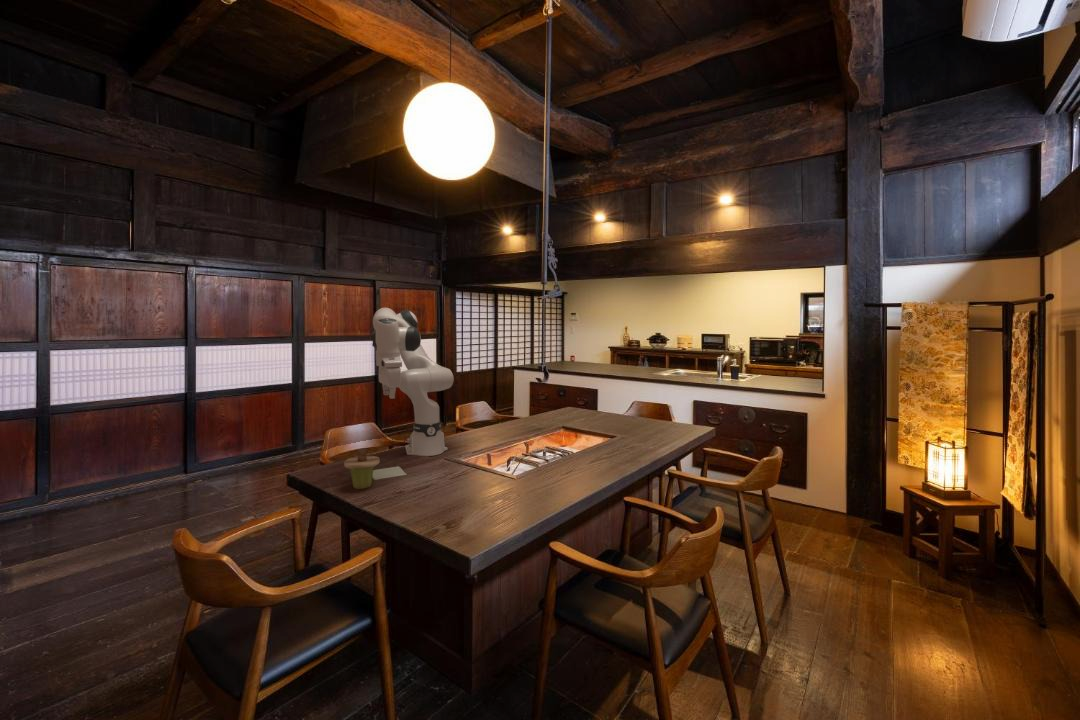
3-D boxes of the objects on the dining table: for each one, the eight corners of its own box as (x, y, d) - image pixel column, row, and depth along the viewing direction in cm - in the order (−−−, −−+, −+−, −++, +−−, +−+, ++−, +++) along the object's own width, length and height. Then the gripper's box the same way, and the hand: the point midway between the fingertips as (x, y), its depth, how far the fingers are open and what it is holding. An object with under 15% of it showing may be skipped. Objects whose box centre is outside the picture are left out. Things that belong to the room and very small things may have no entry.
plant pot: (372, 480, 176) (372, 458, 175) (379, 488, 168) (378, 464, 167) (346, 485, 171) (345, 462, 170) (351, 493, 163) (350, 469, 162)
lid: (342, 461, 171) (341, 448, 170) (376, 457, 177) (375, 443, 176) (347, 470, 160) (346, 456, 160) (382, 465, 167) (382, 451, 166)
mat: (368, 472, 185) (368, 470, 185) (399, 467, 192) (398, 466, 192) (374, 481, 175) (374, 479, 175) (406, 476, 181) (406, 474, 181)
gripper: (374, 359, 186) (375, 393, 187) (385, 363, 168) (386, 401, 169) (390, 358, 189) (391, 392, 190) (403, 362, 171) (404, 399, 173)
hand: (389, 396), depth 180 cm, fingers open, 8 cm apart
